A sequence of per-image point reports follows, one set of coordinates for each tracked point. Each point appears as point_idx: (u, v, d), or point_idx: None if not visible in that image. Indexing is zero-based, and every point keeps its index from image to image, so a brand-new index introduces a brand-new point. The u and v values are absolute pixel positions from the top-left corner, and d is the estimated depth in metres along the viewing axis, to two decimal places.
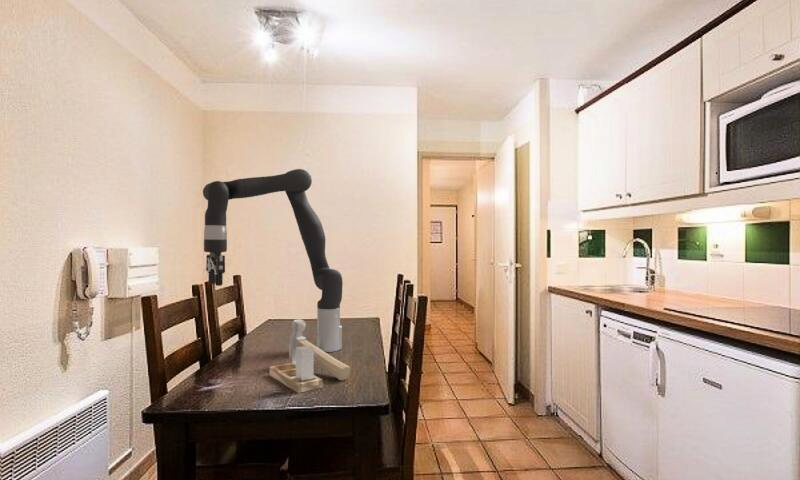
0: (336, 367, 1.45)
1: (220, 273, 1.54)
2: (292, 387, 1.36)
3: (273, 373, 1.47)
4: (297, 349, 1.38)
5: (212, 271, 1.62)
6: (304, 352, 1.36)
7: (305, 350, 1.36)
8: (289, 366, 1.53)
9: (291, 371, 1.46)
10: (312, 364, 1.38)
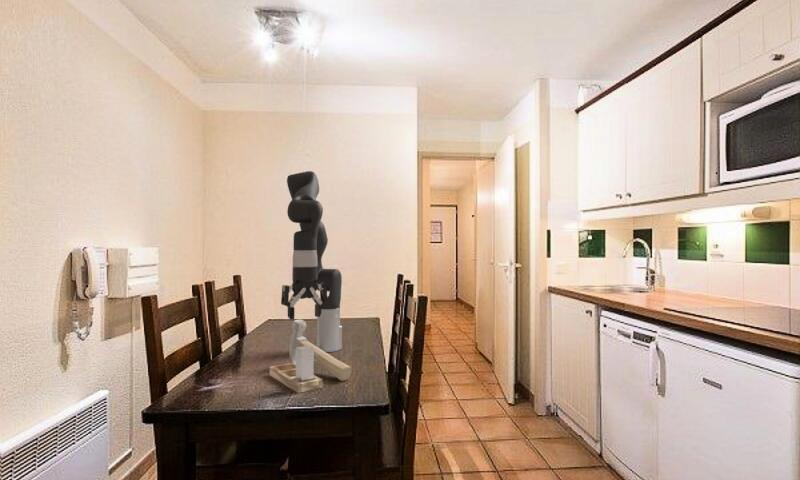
0: (337, 367, 1.44)
1: None
2: (292, 387, 1.36)
3: (273, 373, 1.47)
4: (297, 349, 1.38)
5: None
6: (304, 352, 1.36)
7: (305, 350, 1.36)
8: (289, 366, 1.53)
9: (291, 371, 1.46)
10: (312, 364, 1.38)
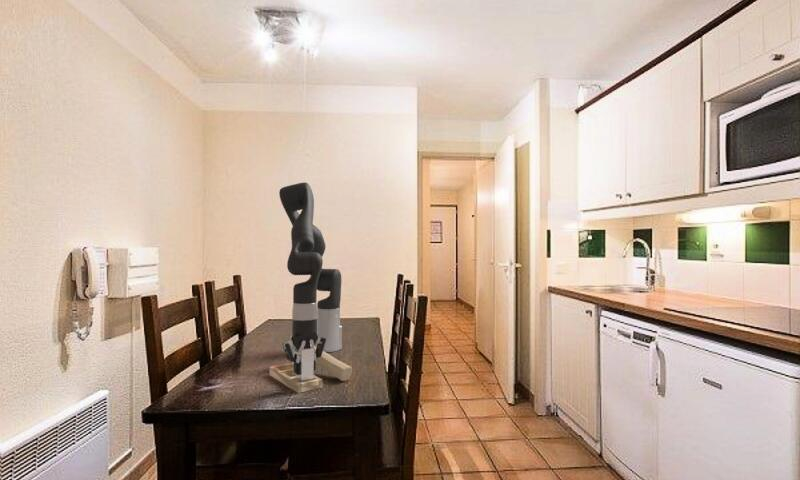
0: (338, 367, 1.44)
1: None
2: (292, 387, 1.36)
3: (273, 373, 1.47)
4: None
5: None
6: (304, 352, 1.36)
7: (305, 350, 1.36)
8: (289, 366, 1.53)
9: (291, 371, 1.46)
10: (312, 364, 1.38)
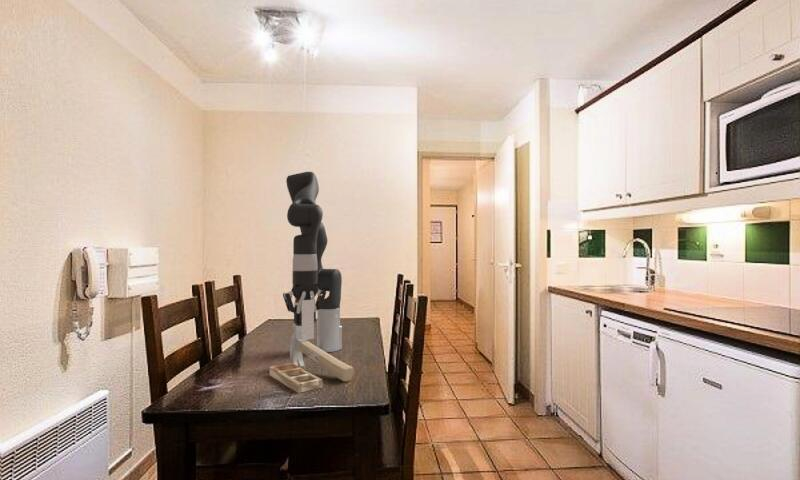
0: (340, 368, 1.44)
1: None
2: (292, 387, 1.36)
3: (273, 373, 1.47)
4: None
5: None
6: (305, 303, 1.36)
7: (305, 301, 1.37)
8: (289, 366, 1.53)
9: (291, 371, 1.46)
10: (312, 315, 1.38)
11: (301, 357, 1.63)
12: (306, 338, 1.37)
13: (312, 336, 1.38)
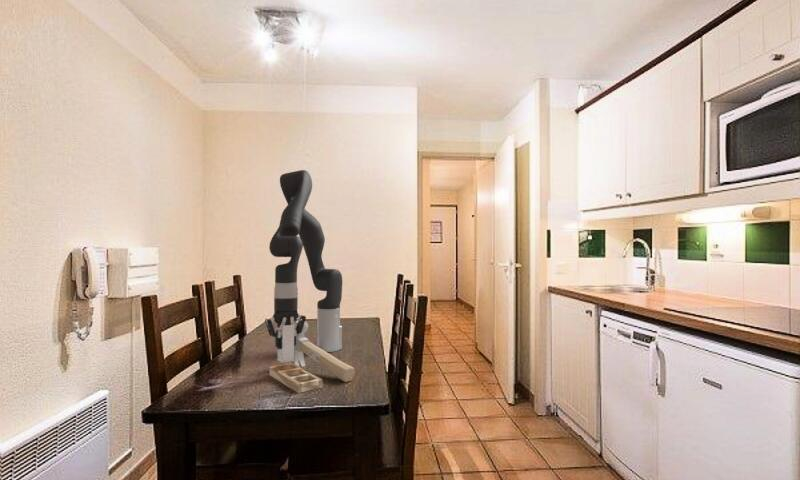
0: (341, 368, 1.43)
1: None
2: (292, 387, 1.36)
3: (273, 373, 1.47)
4: None
5: None
6: (285, 328, 1.47)
7: (286, 326, 1.47)
8: (289, 366, 1.53)
9: (291, 371, 1.46)
10: (292, 339, 1.49)
11: (302, 357, 1.63)
12: (286, 360, 1.48)
13: (292, 358, 1.49)
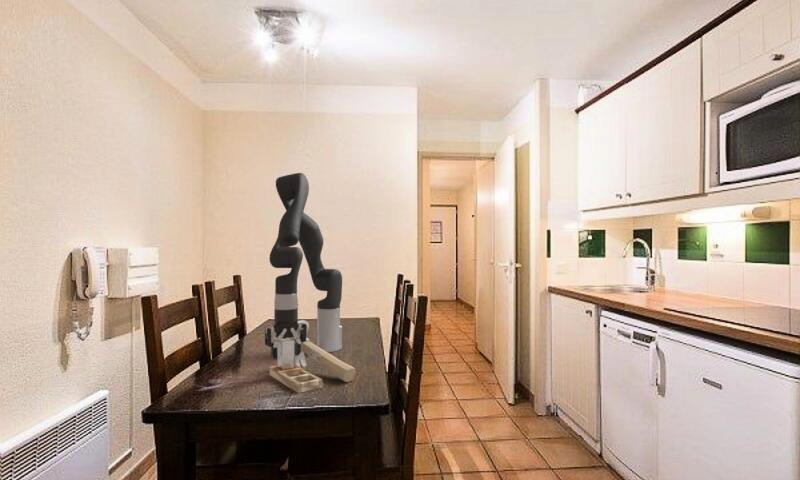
0: (341, 368, 1.43)
1: None
2: (292, 387, 1.36)
3: (273, 373, 1.47)
4: None
5: None
6: (285, 344, 1.47)
7: (286, 342, 1.47)
8: None
9: (291, 371, 1.46)
10: (292, 355, 1.49)
11: (303, 357, 1.62)
12: None
13: None
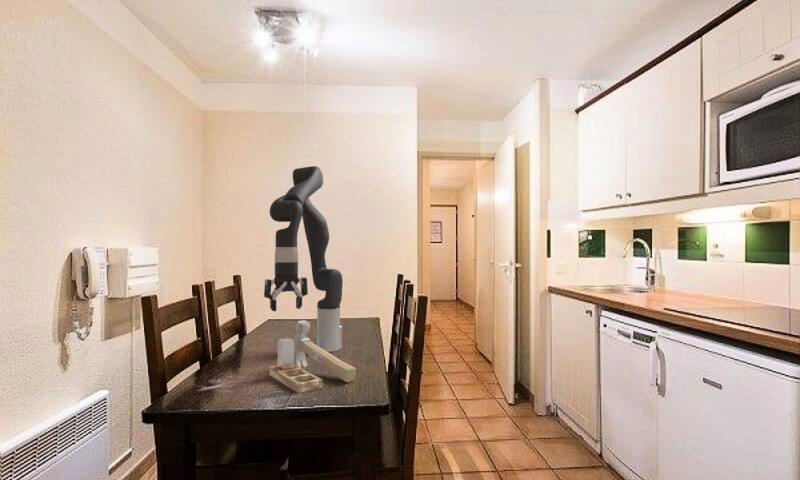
0: (342, 368, 1.43)
1: None
2: (292, 387, 1.36)
3: (273, 373, 1.47)
4: (279, 341, 1.49)
5: None
6: (285, 344, 1.47)
7: (286, 342, 1.47)
8: None
9: (291, 371, 1.46)
10: (292, 355, 1.49)
11: (304, 357, 1.62)
12: None
13: None
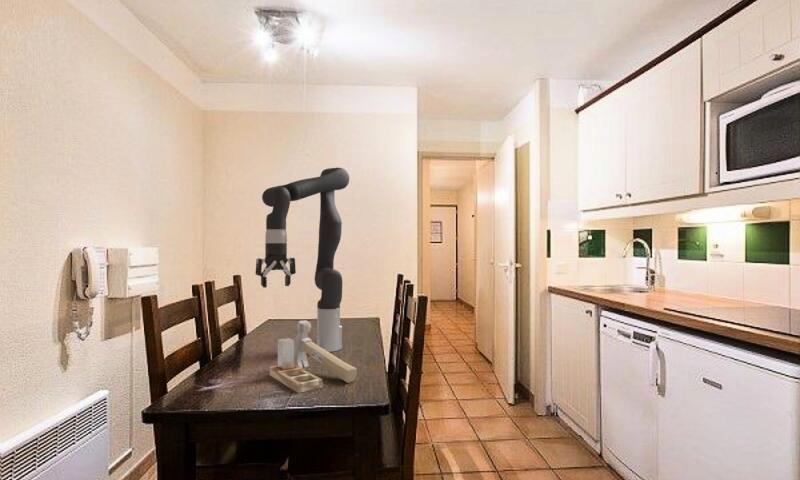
0: (343, 368, 1.43)
1: None
2: (292, 387, 1.36)
3: (273, 373, 1.47)
4: (279, 341, 1.49)
5: None
6: (285, 344, 1.47)
7: (286, 342, 1.47)
8: None
9: (291, 371, 1.46)
10: (292, 355, 1.49)
11: (305, 358, 1.62)
12: None
13: None
